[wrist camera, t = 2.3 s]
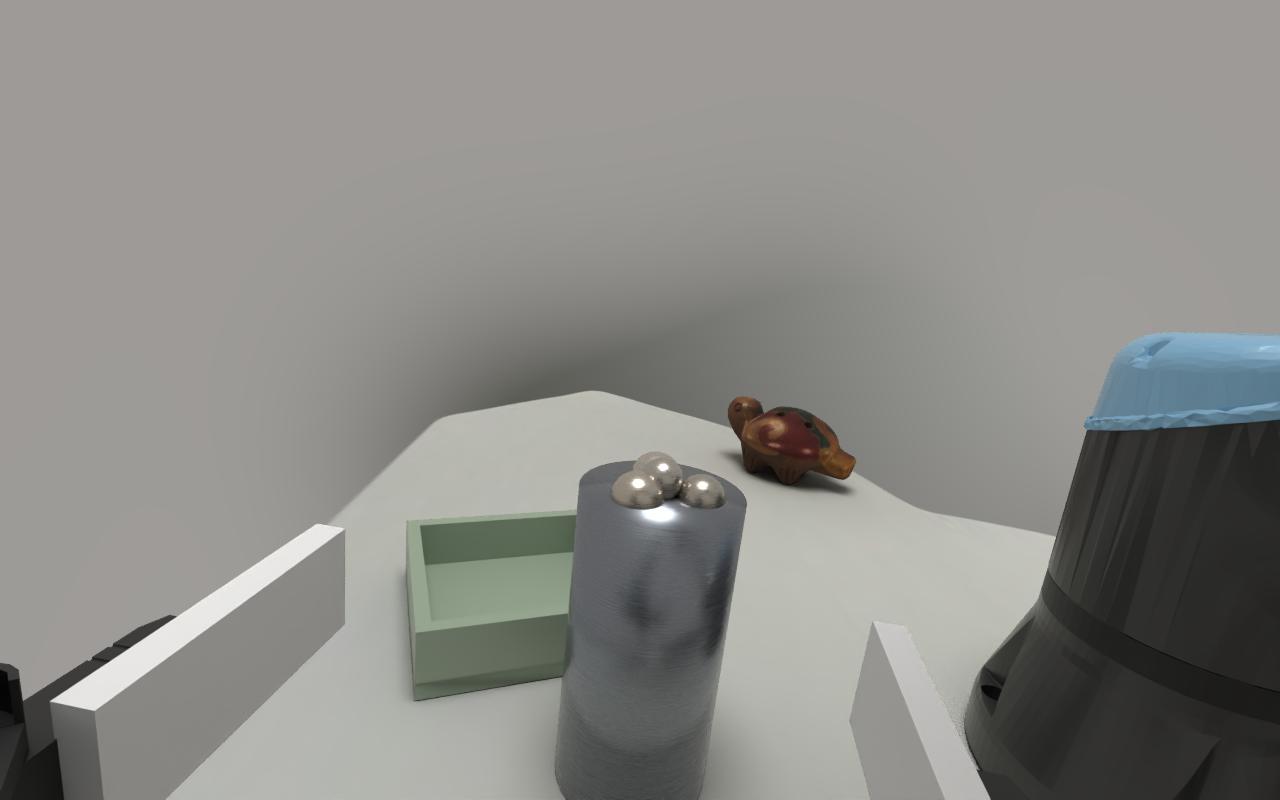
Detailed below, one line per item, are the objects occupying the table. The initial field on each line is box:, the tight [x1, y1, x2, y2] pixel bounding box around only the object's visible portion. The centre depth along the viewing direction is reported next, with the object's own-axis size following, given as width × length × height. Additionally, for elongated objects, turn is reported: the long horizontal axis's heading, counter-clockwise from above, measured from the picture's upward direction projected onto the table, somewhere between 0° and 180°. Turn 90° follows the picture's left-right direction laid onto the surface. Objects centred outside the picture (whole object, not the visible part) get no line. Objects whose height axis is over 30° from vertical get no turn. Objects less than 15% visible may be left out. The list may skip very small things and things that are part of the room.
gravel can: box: [555, 452, 747, 800], centre depth 28 cm, size 7×7×16 cm
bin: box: [406, 510, 577, 701], centre depth 40 cm, size 13×13×4 cm
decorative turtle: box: [728, 397, 856, 485], centre depth 70 cm, size 10×15×8 cm, turn 61°
